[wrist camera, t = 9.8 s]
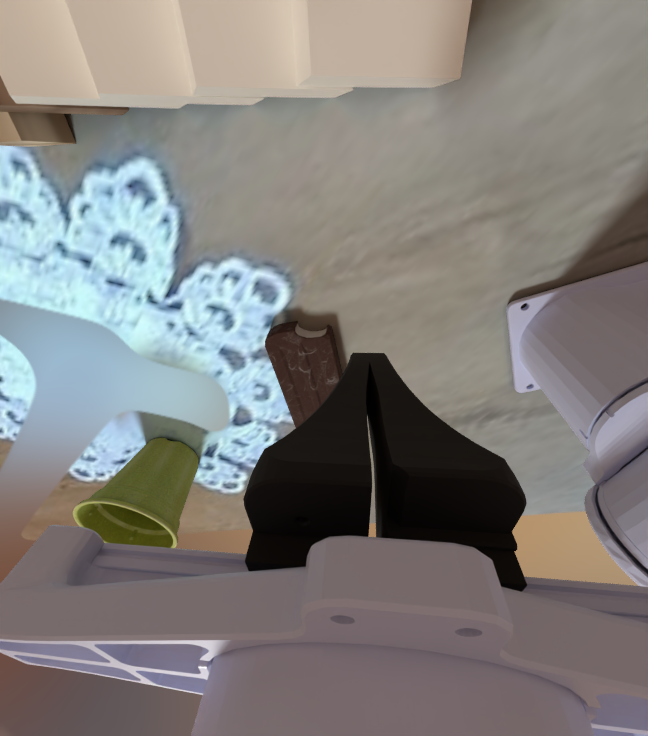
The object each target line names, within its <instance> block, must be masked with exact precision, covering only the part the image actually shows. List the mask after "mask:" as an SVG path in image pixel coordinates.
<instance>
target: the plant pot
mask: <svg viewBox="0 0 648 736" xmlns="http://www.w3.org/2000/svg"><path fill="white" fill-rule="evenodd" d="M197 469H198V457H197V455H196V453H195V452H194V451H193V450H192V449H191V448H189V447H188V446H187V445H185V444H183V443H181V442H179V441H169V440H167V439H166V438H156V439H153V440H151V441H149V442H148V443H147V444H146V445H145V446H144V447H143V448H142V449H141V450H140V451H139V452H138V453H137V454H136V455H135V456H134V457H133V458H132V459H131V460H130V461H129V462H128V463H127V464H126V465H125V466H124V467H123V468H122V469H121V470H120V471H119V472H118V473H117V474H116V475H115V476H114V478H113V479H112V480H111V481H110V482H109V483H108V484H107V485H106V486H105V487H104V488H102V489H100V490H98V491H97V492H95V493H94V494H93V495H92V496H91V497H90V498H89V499H86V500H83V501H81V502H80V503H79V504H78V505H77V506H76V507H75V508H74V510H73V517H74V519H75V521H76V522H77V524H78V525H79V526H80V527H84V528H89V529H91V530H93V531H95V532H96V533H98V534H99V535H100V536H101V538H102V539H103V542H104V543H114V544H127V545H139V546H151V547H164V548H175V547H176V545H177V543H178V536H177V532H178V529H179V524H180V521H179V519H180V516H181V513H182V510H183V508H184V505H185V502H186V499H187V496H188V494H189V491H190V488H191V485H192V482H193V480H194V477H195V474H196V472H197Z"/></svg>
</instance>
